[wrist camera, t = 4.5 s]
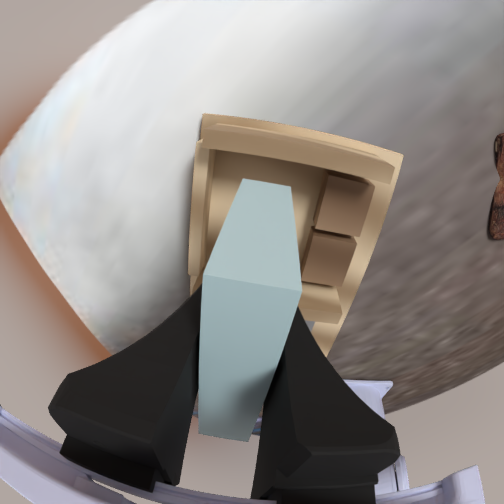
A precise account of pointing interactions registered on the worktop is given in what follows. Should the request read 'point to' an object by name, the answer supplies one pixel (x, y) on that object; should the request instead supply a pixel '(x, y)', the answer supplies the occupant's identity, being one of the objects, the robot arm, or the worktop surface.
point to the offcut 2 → (327, 257)
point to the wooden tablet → (498, 193)
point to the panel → (247, 308)
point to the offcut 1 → (343, 203)
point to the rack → (303, 196)
